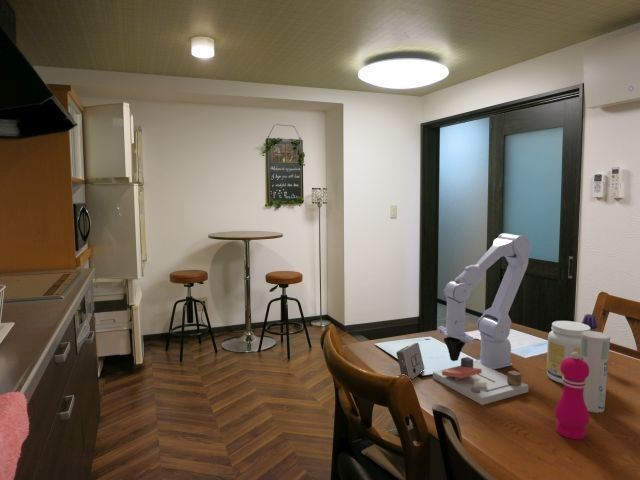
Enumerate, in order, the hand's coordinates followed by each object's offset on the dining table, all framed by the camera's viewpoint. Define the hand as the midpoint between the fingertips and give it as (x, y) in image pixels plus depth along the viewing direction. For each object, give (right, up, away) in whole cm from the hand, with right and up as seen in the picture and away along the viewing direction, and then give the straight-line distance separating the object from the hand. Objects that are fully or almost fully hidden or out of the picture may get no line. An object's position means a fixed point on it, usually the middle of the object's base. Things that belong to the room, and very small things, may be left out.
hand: (454, 360), depth 149 cm
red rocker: (-1, -1, -13) cm, 13 cm away
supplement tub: (+33, -4, -7) cm, 34 cm away
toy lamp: (+46, -3, +5) cm, 46 cm away
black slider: (+3, -2, -5) cm, 6 cm away
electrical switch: (-15, -4, -3) cm, 16 cm away
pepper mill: (+17, -8, -39) cm, 43 cm away
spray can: (+29, -6, -26) cm, 39 cm away
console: (+4, -4, -12) cm, 13 cm away
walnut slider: (+13, -3, -16) cm, 21 cm away
